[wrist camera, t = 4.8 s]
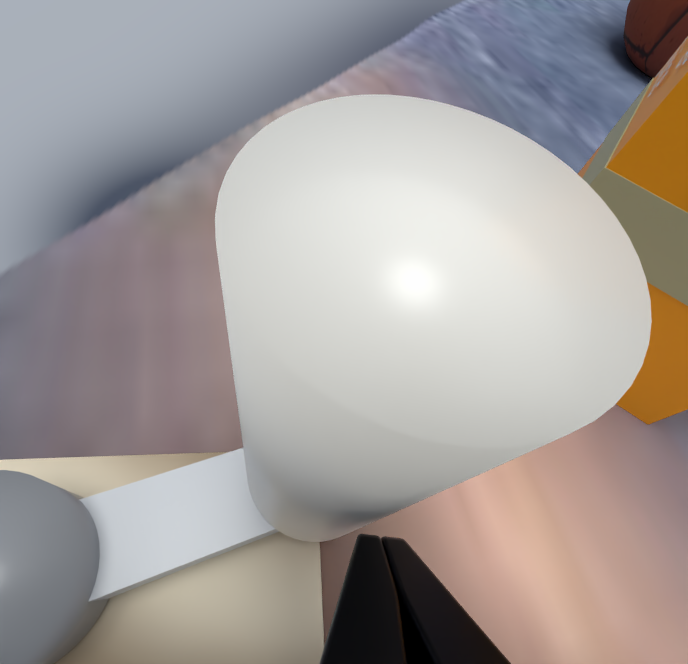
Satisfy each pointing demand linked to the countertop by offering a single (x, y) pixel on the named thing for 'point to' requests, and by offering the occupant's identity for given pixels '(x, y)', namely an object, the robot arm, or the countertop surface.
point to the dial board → (198, 587)
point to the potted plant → (654, 32)
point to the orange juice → (654, 227)
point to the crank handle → (356, 350)
